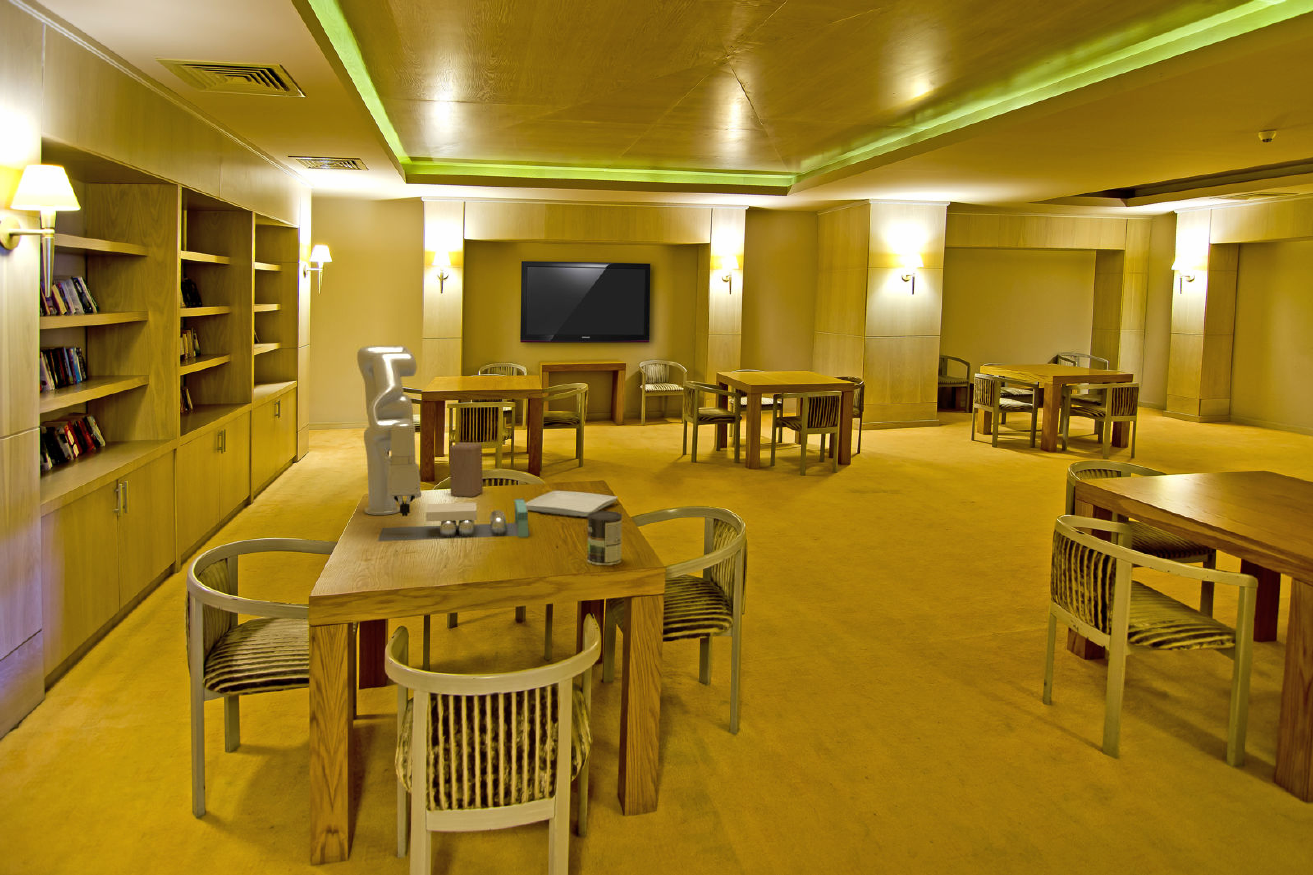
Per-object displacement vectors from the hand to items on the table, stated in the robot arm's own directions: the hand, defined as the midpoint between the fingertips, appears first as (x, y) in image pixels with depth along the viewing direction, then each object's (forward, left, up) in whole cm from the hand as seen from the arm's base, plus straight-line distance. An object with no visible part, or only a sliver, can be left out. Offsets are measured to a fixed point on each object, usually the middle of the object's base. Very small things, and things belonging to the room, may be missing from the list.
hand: (405, 515), depth 302 cm
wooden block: (-60, +20, -7) cm, 64 cm away
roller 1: (0, +11, -4) cm, 12 cm away
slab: (0, +15, -1) cm, 15 cm away
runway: (0, +16, -7) cm, 17 cm away
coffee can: (+40, +60, -7) cm, 72 cm away
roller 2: (0, +20, -6) cm, 21 cm away
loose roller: (0, +30, -6) cm, 31 cm away
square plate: (-30, +58, -7) cm, 66 cm away
